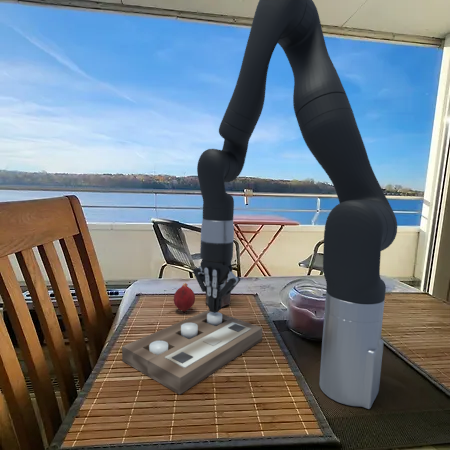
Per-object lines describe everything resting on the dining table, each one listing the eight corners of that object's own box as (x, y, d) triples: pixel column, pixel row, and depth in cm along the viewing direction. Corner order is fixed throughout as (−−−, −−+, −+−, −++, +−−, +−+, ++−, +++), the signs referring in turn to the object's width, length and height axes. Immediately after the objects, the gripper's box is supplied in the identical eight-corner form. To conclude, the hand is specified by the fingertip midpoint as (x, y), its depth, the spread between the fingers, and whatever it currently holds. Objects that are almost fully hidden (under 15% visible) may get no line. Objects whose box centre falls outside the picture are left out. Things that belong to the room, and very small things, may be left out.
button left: (171, 356, 65) (172, 344, 64) (157, 364, 62) (157, 351, 62) (159, 350, 67) (159, 338, 67) (145, 357, 64) (145, 345, 64)
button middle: (200, 336, 71) (201, 325, 71) (189, 342, 68) (189, 331, 68) (189, 331, 73) (189, 321, 73) (177, 337, 71) (177, 326, 70)
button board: (261, 340, 75) (262, 326, 75) (179, 394, 55) (180, 376, 54) (208, 320, 85) (209, 308, 84) (122, 360, 64) (122, 344, 64)
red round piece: (190, 316, 87) (191, 287, 86) (170, 314, 88) (170, 285, 87) (197, 309, 92) (197, 281, 91) (177, 306, 94) (178, 279, 93)
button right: (225, 324, 78) (225, 314, 78) (215, 329, 75) (215, 319, 75) (213, 320, 80) (213, 310, 80) (203, 325, 77) (203, 314, 77)
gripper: (250, 241, 74) (246, 314, 76) (206, 233, 82) (204, 300, 84) (230, 245, 68) (226, 324, 70) (185, 236, 76) (183, 308, 78)
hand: (214, 311), depth 77 cm, fingers closed
